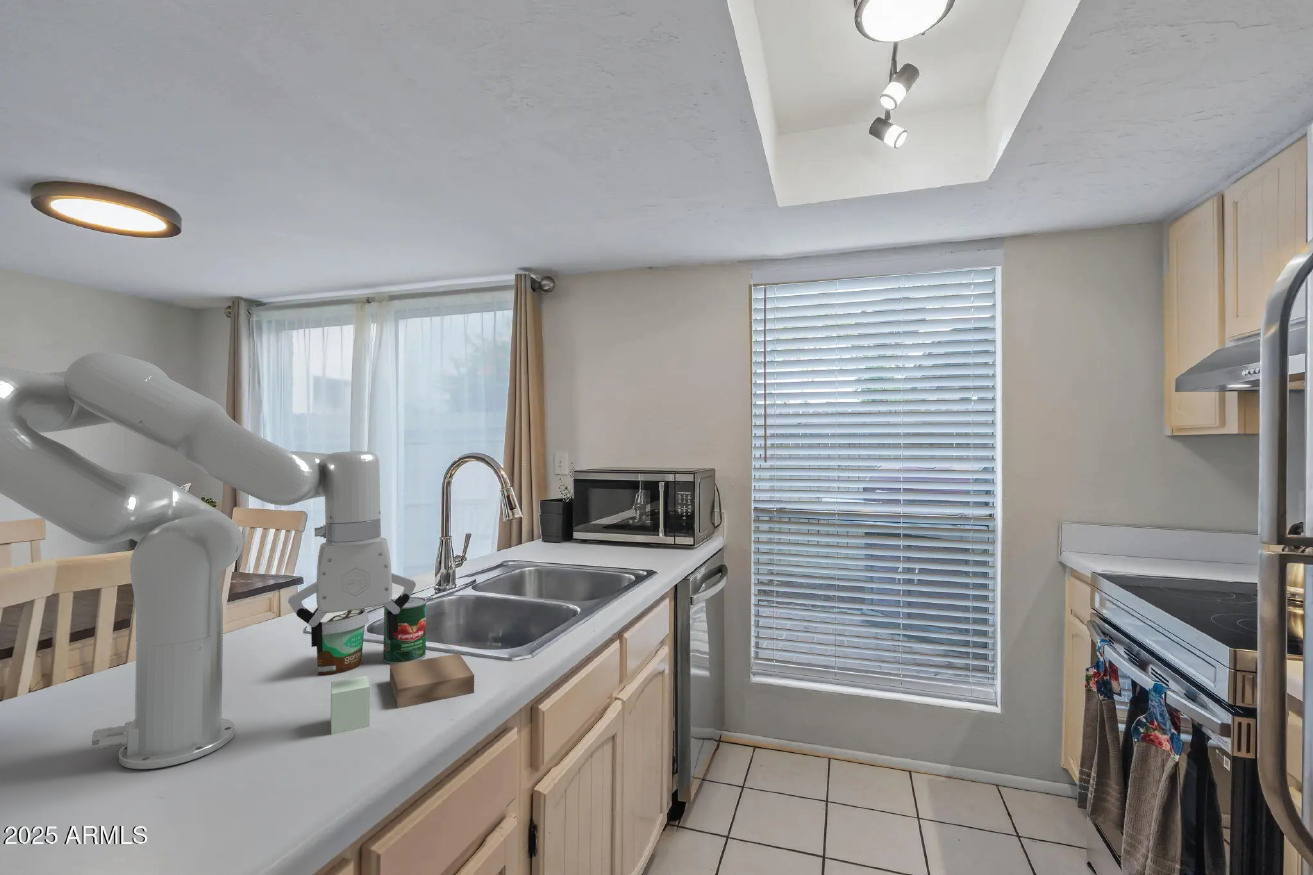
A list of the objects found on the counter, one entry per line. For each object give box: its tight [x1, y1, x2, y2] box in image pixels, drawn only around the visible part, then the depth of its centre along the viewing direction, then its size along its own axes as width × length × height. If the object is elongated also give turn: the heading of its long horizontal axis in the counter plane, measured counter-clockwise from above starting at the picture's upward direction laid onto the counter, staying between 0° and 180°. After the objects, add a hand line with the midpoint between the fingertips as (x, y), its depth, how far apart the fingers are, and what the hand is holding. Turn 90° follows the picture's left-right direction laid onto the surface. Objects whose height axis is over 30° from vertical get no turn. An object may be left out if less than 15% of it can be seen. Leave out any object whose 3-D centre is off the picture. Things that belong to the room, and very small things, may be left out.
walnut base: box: [389, 653, 475, 709], centre depth 103 cm, size 12×12×3 cm
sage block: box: [330, 675, 371, 736], centre depth 90 cm, size 5×5×6 cm
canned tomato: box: [382, 596, 428, 665], centre depth 118 cm, size 8×8×11 cm
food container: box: [316, 608, 370, 677], centre depth 113 cm, size 12×6×10 cm, turn 179°
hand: (356, 644), depth 90 cm, fingers open, 9 cm apart
